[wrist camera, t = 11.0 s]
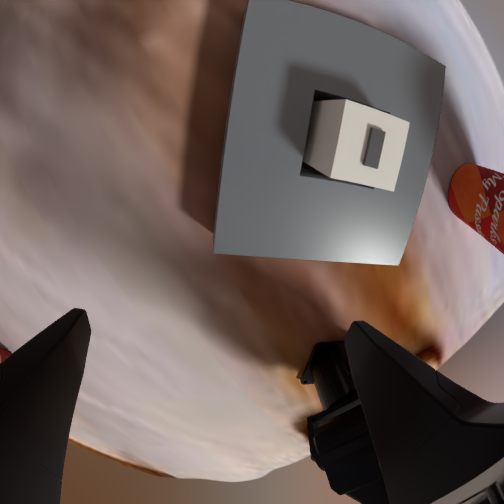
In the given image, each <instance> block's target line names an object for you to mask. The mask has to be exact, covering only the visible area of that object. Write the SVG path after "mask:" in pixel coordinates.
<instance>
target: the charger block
mask: <svg viewBox="0 0 504 504" xmlns="http://www.w3.org/2000/svg"><path fill="white" fill-rule="evenodd" d="M409 124H410V122H407V121H405V120H402V119H400V118H397V117H395V116H392V115H390V114H387V113H385V112H382V111H379V110H377V109H374V108H371V107H368V106H365V105H362V104H359V103H356V102H353V101H350V100H347V99H341V100H324V101H313V104H312V110H311V116H310V121H309V127H308V133H307V138H306V144H305V149H304V155H303V160H302V161H303V162H304V163H306V164H308V165H310V166H311V167H313V168H315V169H316V170H318V171H320V172H321V173H323V174H325V175H326V176H328V177H330V178H334V179H339V180H344V181H349V182H353V183H358V184H363V185H367V186H372V187H376V188H380V189H385V190H389V191H393V192H394V189H395V185H396V182H397V178H398V174H399V170H400V166H401V162H402V157H403V153H404V148H405V144H406V139H407V134H408V129H409Z"/></svg>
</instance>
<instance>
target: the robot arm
mask: <svg viewBox="0 0 504 504" xmlns="http://www.w3.org/2000/svg"><path fill="white" fill-rule="evenodd" d="M90 336H91V328H90V324H89V320H88V316H87V313H86V311H85V310H84V309H79V308H73V309H72V310H70V311H69V312H68V313H66V314H65V315H63V316H62V317H61V318H59V319H58V320H56V321H55V322H54V323H52V324H51V325H50V326H48V327H47V328H45V329H44V330H43V331H41V332H40V333H39V334H37V335H36V336H35V337H33V338H32V339H31V340H29V341H28V342H27V343H25V344H24V345H23V346H22V347H20V348H19V349H18V350H16V351H15V352H14V353H13V354H11V355H10V356H9V357H7V358H6V359H5V360H4V361H3V362H1V363H0V504H60V495H61V485H62V481H61V480H62V475H63V467H64V461H65V455H66V449H67V443H68V437H69V432H70V427H71V422H72V418H73V413H74V409H75V405H76V401H77V397H78V393H79V389H80V385H81V381H82V378H83V374H84V368H85V363H86V357H87V351H88V346H89V341H90ZM300 381H301V383H302V384H315V387H316V390H317V393H318V396H319V398H320V401H321V404H322V407H323V410H324V411H322V412H320V413H317V414H315V415H313V416H312V415H311V416H309V417H307V423H308V424H307V429H308V437H309V445H310V453H311V459H312V460H313V461H315V462H316V463H317V465H318V466H319V468H320V469H321V470H323V471H325V472H326V474H327V477H328V480H329V483H330V486H331V489H332V490H334V491H335V492H336V493H337V494H339V495H343V494H346V495H348V496H349V497H351V498H353V499H355V500H356V501H358V502H360V503H361V504H504V403H492V402H489V401H486V400H484V399H482V398H480V397H479V396H477V395H475V394H473V393H472V392H470V391H468V390H466V389H465V388H463V387H461V386H460V385H458V384H456V383H454V382H453V381H452V380H450V379H448V378H447V377H445V376H444V375H442V374H441V373H440V372H438V371H437V370H436V371H435V369H434V368H432V367H431V366H429V365H428V364H426V363H425V362H424V361H422V360H421V359H419V358H418V357H416V356H415V355H413V354H412V353H410V352H409V351H407V350H406V349H405V348H403V347H402V346H400V345H399V344H397V343H396V342H394V341H393V340H391V339H390V338H388V337H387V336H386V335H384V334H383V333H381V332H380V331H378V330H377V329H375V328H374V327H372V326H371V325H369V324H368V323H366V322H365V321H354V322H352V324H351V326H350V328H349V330H348V332H347V335H346V337H345V342H331V343H318V344H316V345H315V347H314V349H313V351H312V354H311V356H310V359H309V361H308V363H307V366H306V368H305V370H304V373H303V375H302V377H301V380H300Z"/></svg>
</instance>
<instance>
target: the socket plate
mask: <svg viewBox="0 0 504 504" xmlns="http://www.w3.org/2000/svg"><path fill="white" fill-rule="evenodd" d="M445 67H446V66H444V65H443V64H441V63H439V62H438V61H436V60H434V59H433V58H431V57H429V56H428V55H426V54H424V53H423V52H421V51H419V50H417V49H415V48H414V47H412V46H410V45H408V44H406V43H404V42H402V41H400V40H398V39H396V38H394V37H392V36H390V35H388V34H386V33H383V32H381V31H379V30H377V29H374V28H372V27H370V26H367V25H365V24H362V23H360V22H357V21H355V20H352V19H349V18H347V17H344V16H341V15H338V14H335V13H332V12H329V11H326V10H323V9H319V8H316V7H312V6H309V5H305V4H301V3H297V2H293V1H289V0H248V2H247V5H246V8H245V11H244V16H243V21H242V27H241V32H240V38H239V43H238V49H237V55H236V61H235V67H234V73H233V79H232V86H231V92H230V99H229V106H228V113H227V120H226V127H225V134H224V142H223V150H222V158H221V166H220V174H219V183H218V192H217V201H216V211H215V221H214V231H213V250H214V254H228V255H243V256H258V257H274V258H289V259H304V260H320V261H336V262H352V263H368V264H384V265H399V263H400V260H401V258H402V255H403V252H404V250H405V247H406V244H407V241H408V238H409V236H410V233H411V230H412V227H413V224H414V221H415V217H416V214H417V211H418V208H419V204H420V201H421V197H422V194H423V190H424V187H425V183H426V179H427V175H428V171H429V167H430V163H431V159H432V154H433V149H434V145H435V140H436V134H437V129H438V123H439V117H440V111H441V104H442V97H443V88H444V79H445ZM314 96H317V97H321V98H325V99H329V100H341V99H347V100H350V101H353V102H356V103H359V104H362V105H365V106H368V107H371V108H374V109H377V110H379V111H382V112H385V113H387V114H390V115H392V116H395V117H397V118H400V119H402V120H405V121H407V122H410V124H409V129H408V134H407V139H406V144H405V148H404V153H403V157H402V162H401V166H400V170H399V174H398V178H397V182H396V185H395V189H394V192H393V191H389V190H385V189H380V188H376V187H372V186H367V185H363V184H358V183H353V182H349V181H344V180H339V179H334V178H330V177H328V176H326V175H325V174H323V173H321V172H320V171H315V170H309V169H303V168H301V165H302V160H303V155H304V149H305V144H306V138H307V133H308V127H309V121H310V116H311V110H312V104H313V98H314Z"/></svg>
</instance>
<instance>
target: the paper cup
mask: <svg viewBox="0 0 504 504" xmlns="http://www.w3.org/2000/svg"><path fill="white" fill-rule="evenodd" d="M448 201H449V206H450V209H451V211H452V212H453V213H454V214H455V215H456V216H457V217H458V218H459V219H461V220H462V221H463V222H465V223H466V224H467V225H468V226H470V227H471V228H472V229H474V230H475V231H476V232H477V233H479V234H480V235H481V236H482V237H484V238H485V239H486V240H487V241H489V242H490V243H491V244H492V245H493V246H495V247H496V248H497V249H498V250H499V251H500V252H502V253H503V254H504V174H503V173H500V172H497V171H494V170H491V169H488V168H485V167H481V166H478V165H474V164H464V165H462V166H460V167H459V168H458V169H457V170H456V172H455V173H454V175H453V177H452V179H451V182H450V186H449V192H448Z"/></svg>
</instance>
